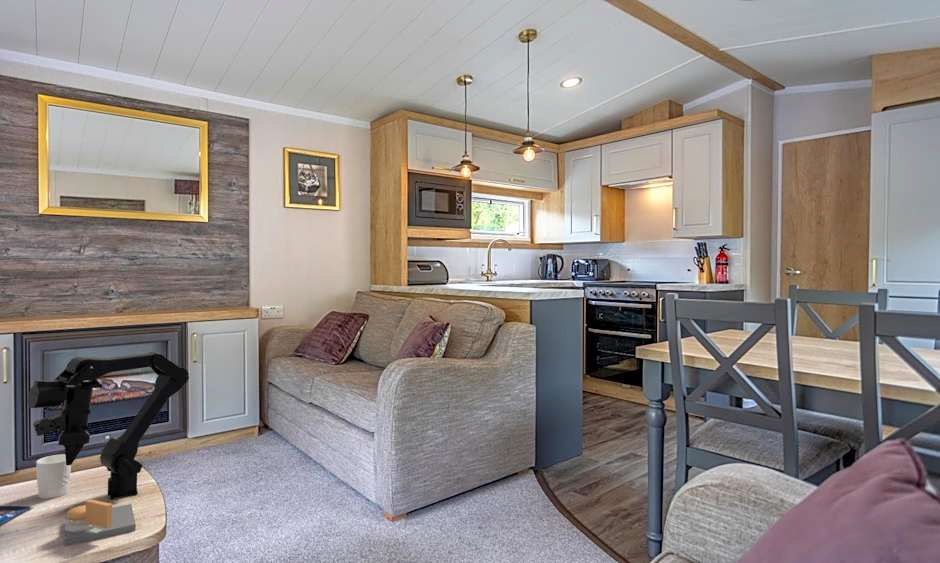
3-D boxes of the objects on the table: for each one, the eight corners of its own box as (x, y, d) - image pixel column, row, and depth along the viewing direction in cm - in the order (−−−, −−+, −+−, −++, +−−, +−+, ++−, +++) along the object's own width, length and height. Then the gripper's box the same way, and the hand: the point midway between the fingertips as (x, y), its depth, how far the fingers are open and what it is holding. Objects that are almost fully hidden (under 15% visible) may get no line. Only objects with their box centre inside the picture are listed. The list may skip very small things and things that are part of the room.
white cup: (31, 501, 143) (32, 465, 143) (39, 491, 150) (40, 456, 150) (67, 497, 146) (68, 461, 146) (73, 486, 153) (74, 452, 153)
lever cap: (61, 523, 125) (62, 501, 125) (83, 514, 130) (84, 492, 130) (98, 532, 121) (99, 509, 121) (119, 522, 126) (120, 500, 126)
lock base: (131, 509, 140) (131, 494, 140) (135, 530, 128) (136, 514, 128) (66, 522, 131) (66, 506, 131) (64, 547, 120) (65, 529, 120)
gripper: (39, 399, 141) (30, 458, 140) (37, 412, 127) (27, 478, 126) (89, 399, 148) (81, 455, 147) (93, 410, 134) (84, 473, 132)
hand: (68, 464), depth 138 cm, fingers closed
